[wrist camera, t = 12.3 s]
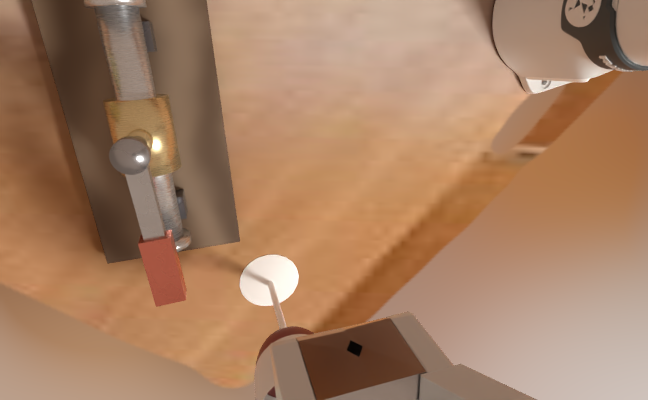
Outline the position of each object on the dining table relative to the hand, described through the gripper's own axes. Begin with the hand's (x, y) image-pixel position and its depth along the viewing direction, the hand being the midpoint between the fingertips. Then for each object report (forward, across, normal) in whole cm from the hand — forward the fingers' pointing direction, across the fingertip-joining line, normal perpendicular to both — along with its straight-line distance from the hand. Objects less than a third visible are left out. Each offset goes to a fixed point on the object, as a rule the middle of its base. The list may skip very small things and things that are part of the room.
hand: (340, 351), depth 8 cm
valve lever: (+27, +8, +7) cm, 29 cm away
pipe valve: (+35, +8, +1) cm, 36 cm away
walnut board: (+37, +8, +1) cm, 38 cm away
